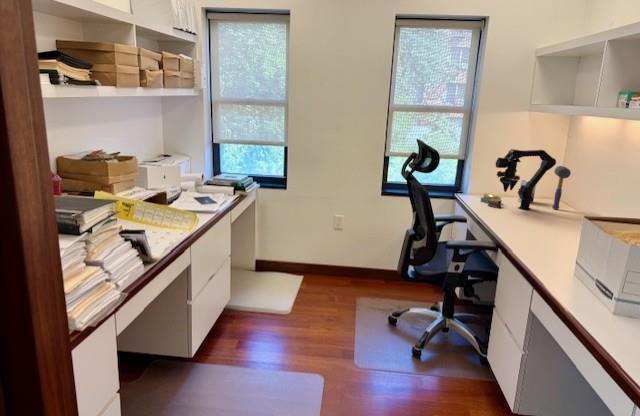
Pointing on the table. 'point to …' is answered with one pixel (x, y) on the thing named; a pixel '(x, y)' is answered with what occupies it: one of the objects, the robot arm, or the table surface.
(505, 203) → the table surface
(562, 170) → the rubber mallet
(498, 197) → the brass rod
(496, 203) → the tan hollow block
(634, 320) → the table surface
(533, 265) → the table surface
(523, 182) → the candy bar box
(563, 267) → the table surface
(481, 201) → the block
